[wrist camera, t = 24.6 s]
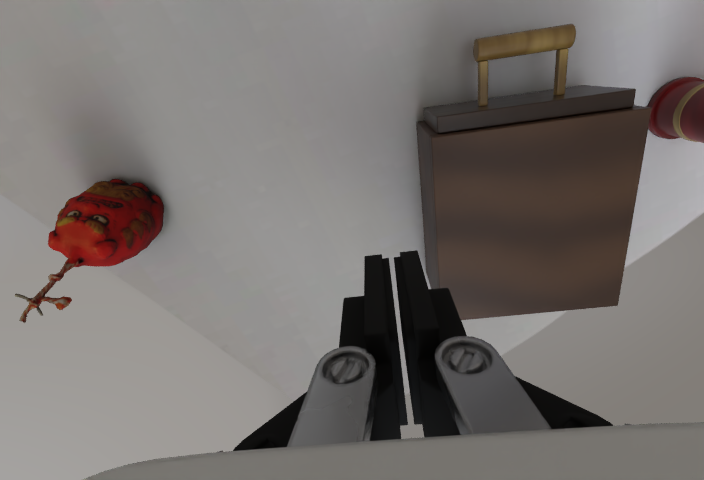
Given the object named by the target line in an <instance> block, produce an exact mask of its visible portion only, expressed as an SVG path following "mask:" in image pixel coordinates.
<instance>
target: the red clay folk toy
mask: <svg viewBox="0 0 704 480" xmlns="http://www.w3.org/2000/svg"><path fill="white" fill-rule="evenodd" d="M163 213H164V206H163V203H162V201H161V199H160V197H158V196H157V195H155V194H153V193H151V192H150V191H149V189H148V188H147V187H146V186H145V185H144V184H142V183H138V182H137V183H133V184H131V185H129V184H127V183H125V182H124V181H123V180H120V179H112V180H111V181H110V182H109V181H101V182H97V183H95V184H94V185H93V186H92V187H90V188H89V189H87V190H86V191H84V192H83V193H82V194H80V195H79V196H76V197H73V198H71V199H69V200H68V201H67V202H66V205H65V207H64V208H63V209H62V210H61V211H60V212H59V214H58V220H57V221H56V227H55V230H54V231H52V232H50V233H49V240H48V245H49V247H50V248H52V249H53V250H56V251H59V252H61V253H62V254H64V255H65V256H66V257H67V258H68V260H67V261H66V262H65V264H64V266H63V268H62V269H61V271H60V272H59V273H57V274H50V275H49V276H48V277H49V281H50V282H49V283H48V284H47V285H46V286H45V287H44V288H43V289H42V290H41V291H40V292H39V293H38V294H37V295H36V296H35V297H34V298H27V297H25V296H23V295H20V294H15V296H16V297H20V298H23V299H26V300H27V301H28V302H29V305H28V307H27V308H26V310H25V311H24V312H23V314H22V316H21V318H20V321H23V322H24V323H25V322H26V317H27V316H26V315H27V314H28V312H29V311H30V310H31V309H33V308H37V310H38V312H39V313H40V315H43V314H42V311H41V310H40V308H39V307H38V306H39V305H40V304H41V302H42V301H48V302H49V303H53V304H55V305H56V307H57V309H59V310H62V309H63V308H65V307H67V306H68V305H69V304H70V302H71V301H72V299H71V298H70V297H61V298H50V297H45V294H46V293H47V292H48V291H49V290H50V288H51V287H52V286H53V285H54V284H55V282H56V281H60V280H61V279H62V278H63V276H64V273H66V272H67V271H68V270H70V269H71V268H73V267H79V266H83V265H86V266H112V265H116V264H119V263H121V262H123V261H124V260H127V259H129V258H132V257H134V256H136V255H137V254H138V253H139V252H140V251H142V250H144V249H145V248H147V247H148V245H149V244H150V243H151V242H152V240H154V239H155V238H156V236H157V235H158V234H159V233H160V231H161V229H162V226H163Z"/></svg>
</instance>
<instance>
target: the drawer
mask: <svg viewBox="0 0 704 480" xmlns="http://www.w3.org/2000/svg"><path fill="white" fill-rule="evenodd" d="M575 37H576V29H575V26H574V25H573V24H567V25H561V26H554V27H548V28H541V29H535V30H529V31H522V32H516V33H510V34H503V35H497V36H490V37H484V38H478V39H475V41H474V46H473V55H474V60H475V61H476V62H478V100H476V101H469V102H462V103H455V104H448V105H441V106H434V107H427V108H424V122H425V123H426V124H427V125H429V126H430V127H431V128H432V129H433V130H434V131H435V132H436V133H438V134H442V133H449V132H456V131H464V130H471V129H478V128H486V127H493V126H500V125H508V124H515V123H522V122H530V121H537V120H544V119H552V118H559V117H566V116H574V115H581V114H588V113H596V112H603V111H610V110H618V109H625V108H632V107H633V105H634V98H635V91H636V89H629V88H615V87H601V86H587V85H581V86H574V87H567V88H565V85H566V72H567V60H568V48H570V47H571V46H572V45H573V44H574V41H575ZM553 50H557V51H556V65H555V79H554V89H553V90H546V91H539V92H532V93H525V94H518V95H511V96H504V97H497V98H490V99H488V61H487V60H493V59H500V58H507V57H513V56H520V55H526V54H533V53H540V52H546V51H553Z"/></svg>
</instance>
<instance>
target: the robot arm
mask: <svg viewBox="0 0 704 480" xmlns="http://www.w3.org/2000/svg"><path fill="white" fill-rule="evenodd" d="M394 263H395V272H396V281H397V291H398V300H399V310H400V319H401V328H402V337H403V344H404V351H405V359H406V366H407V373H408V381H409V388H410V395H411V403H412V410H413V416H414V424H422V425H423V431H424V437H425V438H410V439H401V432H400V425H408V422H407V413H406V404H405V395H404V386H403V377H402V368H401V359H400V351H399V342H398V333H397V324H396V316H395V308H394V299H393V291H392V282H391V274H390V266H389V258H385V259H382V255H372V256H365V281H364V296H359V297H349V298H344V302H343V312H342V322H341V332H340V343H339V348H337V349H334V350H332V351H330V352H329V353H327V354H326V355H324V356H323V357H322V358H321V359H320V361H319V363H318V364H317V366H316V369H315V372H314V375H313V377H312V380H311V383H310V385H309V388H308V391H307V392H306V393H305V394H303V395H302V396H301V397H299V398H298V399H297V400H295V401H294V402H293V403H291V404H290V405H289V406H287V408H285V409H284V410H282V411H281V412H280V413H278V414H277V415H276V416H274V417H273V418H272V419H270V420H269V421H268V422H266V423H265V424H264V425H262V426H261V427H260V428H259V429H257V430H256V431H255V432H253V433H252V434H251V435H249V436H248V437H247V438H245V439H244V440H243V441H242V442H241V443H240V444H239V445H238V446H237V447H235V449H234V450H233V451H229V452H223V451H219V452H216V453H206V454H196V455H187V456H178V457H169V458H161V459H153V460H148V461H143V462H138V463H133V464H128V465H124V466H121V467H117V468H114V469H111V470H107V471H104V472H101V473H98V474H96V475H93V476H91V477H88V478H86V479H83V480H704V422H703V423H702V422H701V423H664V424H662V423H661V424H639V425H631V424H625V425H623V426H613V425H612V424H611V423H610V422H608V421H606V420H604V419H603V418H601V417H600V416H598V415H596V414H594V413H591V412H589V411H587V410H585V409H583V408H581V407H579V406H577V405H574V404H572V403H570V402H568V401H566V400H564V399H562V398H559V397H558V396H556V395H553V394H551V393H549V392H547V391H545V390H543V389H541V388H539V387H536V386H534V385H532V384H530V383H528V382H526V381H524V380H522V379H520V378H518V377H515V376H514V375H513V373H512V372H511V370H510V369H509V368H508V366H507V365H506V364H505V362H504V361H503V359H502V358H501V356H500V355H499V353H498V352H497V351H496V350H495V348H494V347H493V346H492V345H491V344H489V343H487V342H485V341H484V340H481V339H478V338H475V337H469V336H467V335H466V332H465V330H464V327H463V325H462V322H461V319H460V317H459V314H458V311H457V309H456V306H455V303H454V301H453V298H452V295H451V293H450V290H449V288H438V289H428V286H427V283H426V279H425V276H424V272H423V269H422V265H421V262H420V258H419V255H418V251H408V252H400V257H394Z"/></svg>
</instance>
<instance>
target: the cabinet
mask: <svg viewBox="0 0 704 480" xmlns="http://www.w3.org/2000/svg"><path fill="white" fill-rule="evenodd" d="M650 114H651V108H650V107H642V106H635V105H633V107H632V108H625V109H618V110H610V111H603V112H596V113H588V114H581V115H574V116H566V117H559V118H552V119H544V120H537V121H530V122H522V123H515V124H508V125H500V126H493V127H486V128H478V129H471V130H464V131H456V132H449V133H442V134H438V133H436V132H435V131H434V130H433V129H432V128H431V127H430V126H429V125H427V124H426V123H425V122H424V121H420V122H416V127H417V141H418V156H419V170H420V185H421V199H422V214H423V228H424V243H425V257H426V272H427V276H428V279H429V283H430V286H431V289H438V288H449V290H450V293H451V295H452V298H453V301H454V303H455V306H456V309H457V311H458V314H459V317H460V319H461V320H468V319H479V318H489V317H500V316H511V315H522V314H532V313H543V312H554V311H565V310H575V309H586V308H597V307H608V306H617V305H618V301H619V295H620V289H621V283H622V277H623V271H624V265H625V260H626V254H627V248H628V242H629V236H630V230H631V225H632V219H633V213H634V207H635V201H636V195H637V189H638V184H639V178H640V172H641V166H642V160H643V154H644V149H645V143H646V137H647V131H648V125H649V119H650Z"/></svg>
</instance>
